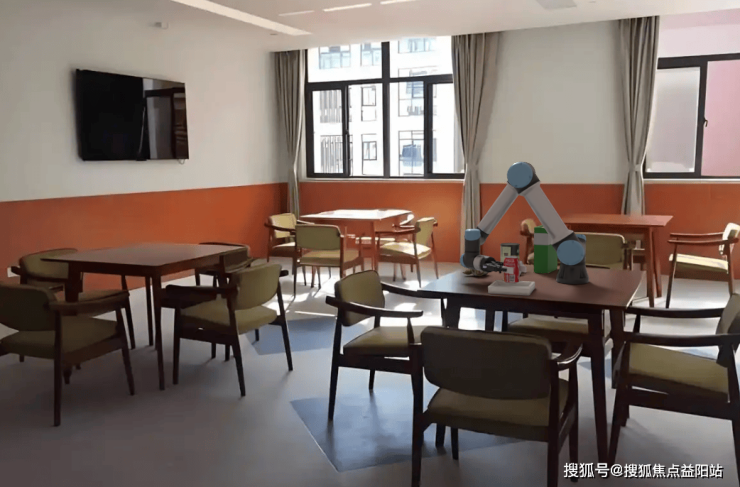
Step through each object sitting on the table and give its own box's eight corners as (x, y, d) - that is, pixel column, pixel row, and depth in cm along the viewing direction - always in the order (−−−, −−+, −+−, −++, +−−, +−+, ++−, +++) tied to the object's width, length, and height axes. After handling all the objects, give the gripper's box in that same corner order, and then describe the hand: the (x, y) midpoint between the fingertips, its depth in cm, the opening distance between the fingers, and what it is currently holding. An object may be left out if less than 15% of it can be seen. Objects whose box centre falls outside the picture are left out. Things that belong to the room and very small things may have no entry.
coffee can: (519, 268, 363) (519, 242, 362) (519, 271, 353) (519, 244, 352) (500, 267, 365) (500, 242, 364) (500, 270, 355) (500, 244, 354)
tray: (534, 288, 304) (534, 281, 304) (529, 295, 287) (529, 288, 287) (495, 286, 310) (495, 279, 310) (488, 293, 294) (488, 286, 293)
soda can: (514, 281, 303) (514, 255, 301) (522, 283, 296) (522, 257, 295) (500, 282, 301) (500, 256, 299) (508, 284, 294) (508, 258, 293)
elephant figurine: (516, 272, 348) (516, 259, 347) (525, 275, 339) (525, 261, 338) (503, 273, 346) (503, 260, 345) (511, 276, 337) (512, 262, 336)
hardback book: (543, 268, 362) (544, 224, 359) (557, 268, 358) (557, 224, 355) (533, 272, 347) (534, 227, 344) (547, 273, 343) (548, 227, 340)
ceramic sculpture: (494, 258, 341) (477, 263, 331) (495, 274, 343) (478, 280, 332) (478, 256, 349) (460, 261, 339) (478, 272, 350) (461, 278, 340)
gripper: (501, 269, 319) (535, 276, 299) (468, 273, 308) (502, 280, 289) (501, 254, 318) (535, 259, 298) (468, 257, 308) (502, 263, 288)
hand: (519, 270), depth 294 cm, fingers closed on soda can, 7 cm apart
